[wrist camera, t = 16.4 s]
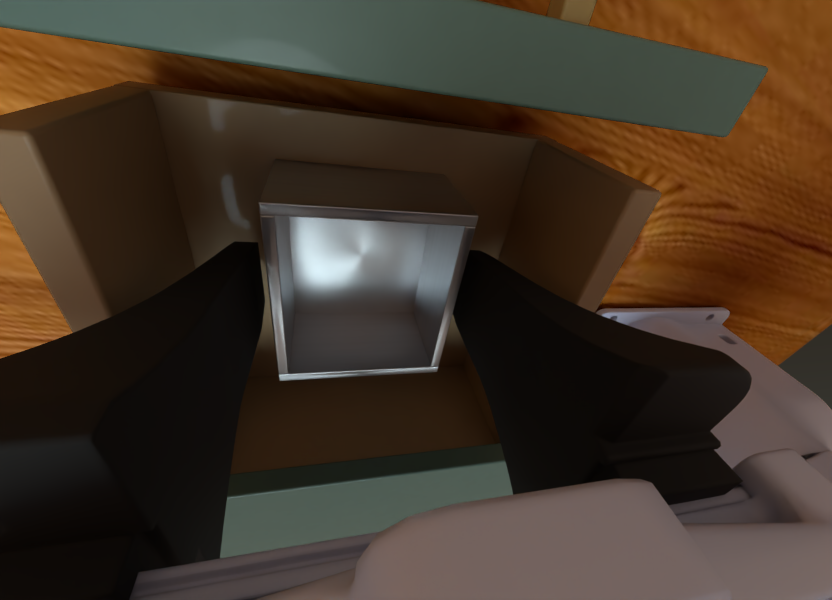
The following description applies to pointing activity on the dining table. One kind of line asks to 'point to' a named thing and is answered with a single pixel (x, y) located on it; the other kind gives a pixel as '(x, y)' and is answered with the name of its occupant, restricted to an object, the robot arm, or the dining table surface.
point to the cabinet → (354, 496)
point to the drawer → (342, 145)
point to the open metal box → (361, 267)
